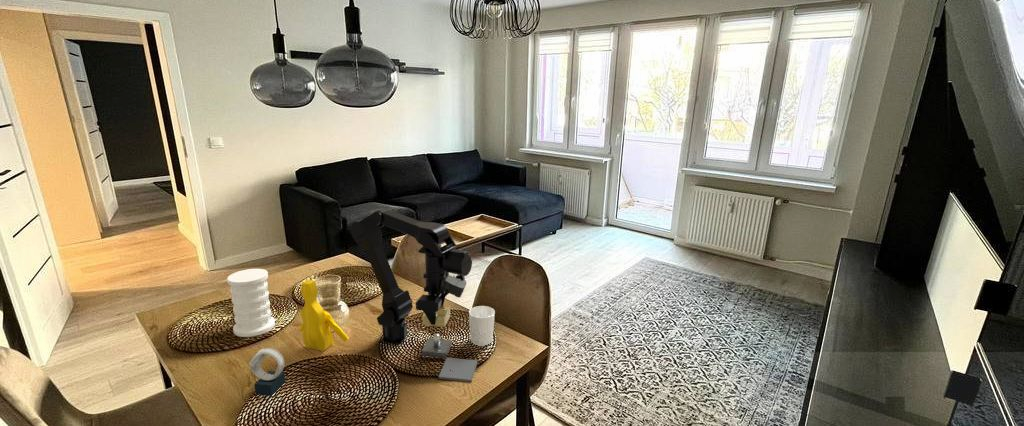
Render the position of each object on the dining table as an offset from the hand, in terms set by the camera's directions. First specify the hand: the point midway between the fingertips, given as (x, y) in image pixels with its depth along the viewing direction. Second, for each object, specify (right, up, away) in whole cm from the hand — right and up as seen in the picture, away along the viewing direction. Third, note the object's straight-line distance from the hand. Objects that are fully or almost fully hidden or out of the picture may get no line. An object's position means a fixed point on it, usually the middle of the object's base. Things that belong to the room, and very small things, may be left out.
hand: (436, 318), depth 127 cm
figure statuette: (-35, -9, +3) cm, 37 cm away
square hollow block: (0, 0, 0) cm, 0 cm away
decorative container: (-61, -6, +13) cm, 62 cm away
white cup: (+12, -9, +9) cm, 18 cm away
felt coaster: (+7, -13, -6) cm, 16 cm away
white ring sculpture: (-40, -14, -16) cm, 45 cm away
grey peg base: (0, -10, +3) cm, 11 cm away
